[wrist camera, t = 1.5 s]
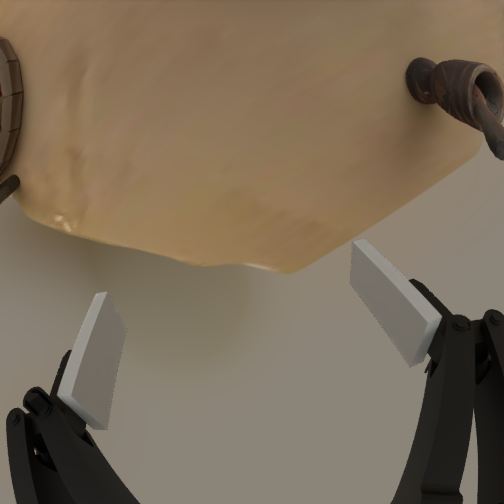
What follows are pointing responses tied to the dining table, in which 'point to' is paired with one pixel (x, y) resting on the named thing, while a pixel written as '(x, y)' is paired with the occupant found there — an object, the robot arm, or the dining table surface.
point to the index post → (8, 187)
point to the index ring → (9, 101)
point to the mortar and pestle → (463, 94)
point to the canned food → (0, 105)
